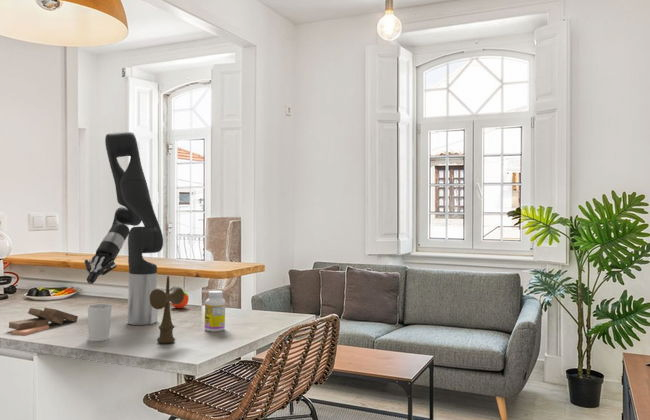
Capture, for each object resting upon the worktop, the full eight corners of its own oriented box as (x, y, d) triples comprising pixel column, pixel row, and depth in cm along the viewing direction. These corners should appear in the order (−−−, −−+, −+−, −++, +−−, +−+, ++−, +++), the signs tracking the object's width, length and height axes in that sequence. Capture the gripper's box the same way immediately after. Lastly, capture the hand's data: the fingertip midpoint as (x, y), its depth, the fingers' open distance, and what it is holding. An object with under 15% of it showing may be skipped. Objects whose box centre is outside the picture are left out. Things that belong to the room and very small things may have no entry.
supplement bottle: (202, 328, 184) (204, 290, 184) (222, 327, 186) (223, 289, 186) (205, 332, 178) (207, 293, 178) (226, 331, 180) (227, 292, 180)
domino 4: (68, 314, 190) (44, 307, 182) (78, 316, 188) (54, 309, 180) (66, 319, 190) (42, 312, 182) (76, 321, 188) (52, 314, 179)
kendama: (147, 344, 160) (149, 276, 160) (168, 338, 169) (170, 273, 169) (163, 347, 158) (165, 278, 158) (184, 340, 167) (186, 275, 167)
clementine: (194, 308, 218) (194, 290, 218) (182, 310, 212) (183, 292, 212) (178, 306, 222) (178, 288, 222) (166, 308, 216) (167, 290, 215)
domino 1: (39, 317, 180) (9, 322, 171) (48, 319, 178) (18, 323, 169) (38, 323, 180) (8, 327, 171) (48, 324, 178) (18, 329, 169)
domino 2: (36, 324, 178) (11, 330, 168) (49, 325, 177) (25, 332, 167) (35, 329, 178) (11, 336, 168) (49, 331, 177) (25, 337, 167)
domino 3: (54, 317, 186) (30, 308, 178) (64, 319, 183) (40, 309, 175) (52, 322, 185) (27, 313, 177) (62, 324, 182) (37, 315, 175)
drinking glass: (93, 335, 169) (94, 303, 169) (114, 336, 169) (115, 304, 169) (82, 341, 162) (83, 307, 162) (104, 341, 162) (105, 308, 162)
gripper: (91, 239, 210) (68, 274, 198) (122, 240, 207) (101, 277, 195) (99, 252, 215) (78, 287, 203) (129, 253, 212) (109, 289, 200)
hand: (89, 282), depth 199 cm, fingers closed
